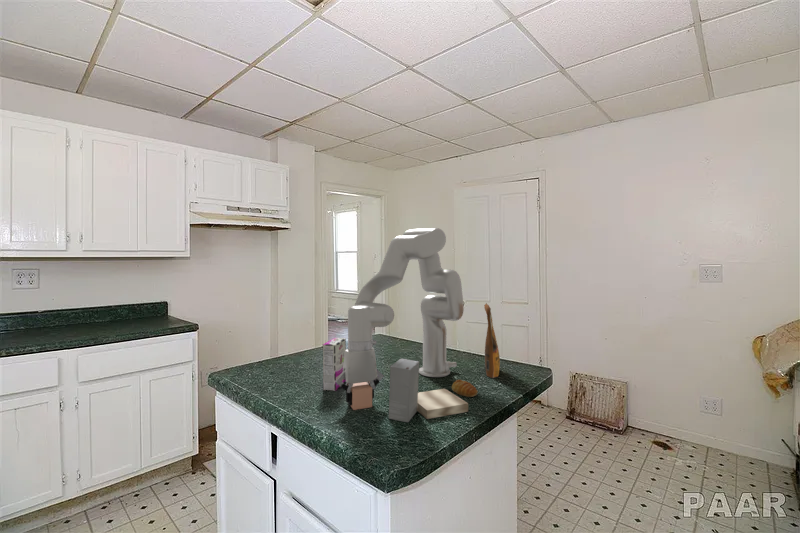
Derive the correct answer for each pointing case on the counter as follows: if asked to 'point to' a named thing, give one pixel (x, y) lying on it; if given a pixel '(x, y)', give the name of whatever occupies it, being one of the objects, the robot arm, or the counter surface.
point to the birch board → (440, 403)
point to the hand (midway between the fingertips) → (360, 401)
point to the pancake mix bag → (491, 348)
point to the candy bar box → (333, 362)
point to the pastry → (464, 388)
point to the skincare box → (403, 389)
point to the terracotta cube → (361, 396)
